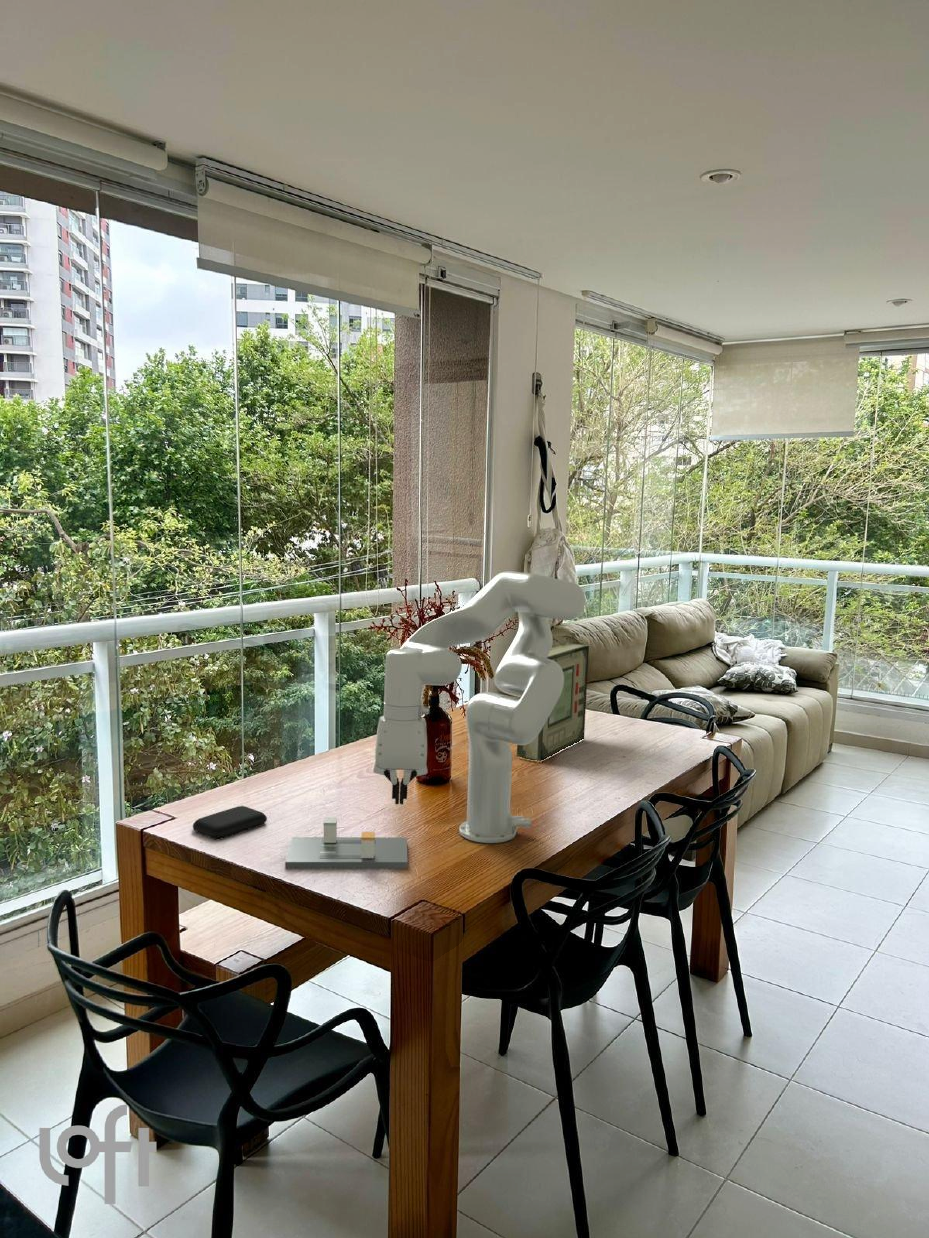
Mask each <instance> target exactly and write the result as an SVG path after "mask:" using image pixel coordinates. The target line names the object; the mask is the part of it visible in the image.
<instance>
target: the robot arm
mask: <svg viewBox="0 0 929 1238" xmlns="http://www.w3.org/2000/svg"><path fill="white" fill-rule="evenodd" d="M585 605H586V597H585V593H584V590H583V589H582V588H581V586H580V585H579V584H577V583H575V582H573V581H568V580H563V579H559V578H554V577H551V576H545V575H541V574H537V573H532V572H531V573H530V572H529V573H528V572H522V571H521V572H520V571H511V570H509V571H502V572H499V573H497V574H496V575H495V576H493V578H492V579H491V580H490V581H488V582H487V583H486V584H485V585H484V586H483V587H482V588H481V589H480V590H479V591H478V592H477V593H476V594H475V595H474V596H473V597H472V598H471V599H470V600H468V601H467V602H466V603H465V604H464V605H463V606H462V607H460V608H458V609H456V610H453V611H450V612H448V613H446V614H443V615H441V616H440V617H438V618H436V619H433V620H431V621H428V622H427V623H426V624H424V625H422V626H420V628H419V629H417V630H416V631H415V632H414V633H413V634H412V635H411V636H410V637H409V638H408V639H407V640H406V641H404V643H403V644H402V646H401V647H400V648H395V649H391V650H389V651H388V652H387V653H386V655H385V666H384V669H385V670H384V687H383V688H384V691H383V693H384V695H383V715H381V716H380V717H379V719H378V724H377V728H376V729H377V731H376V737H375V739H376V740H375V750H374V751H375V754H374V759H375V763H374V767H373V769H372V770H373V773H374V774H377V775H381V776H384V777H385V778H386V779H387V780H388V781H389V782H390V783H391V785H392V786H391V787H392V788H391V799H392V800H395V801H394V804H395V805H399V804H400V805H404V800H407V799H408V785H409V784H410V782H412V780H413V779H415V778H416V777H419V776H424V775H427V774H428V765H427V759H428V758H427V757H428V734H427V722H426V718H425V717H423V716H424V715H426V714H428V715H429V714H430V706H427V705H426V706H424V704H423V696H424V695H423V694H424V693H423V692H424V691H423V690H424V686H425V685H426V686H446V685H450V684H452V683H453V682H455V681H456V680H457V679H458V678H459V677H460V674H461V672H462V661H461V659H460V656H459V655H458V654H457V652H455V651H454V650H452V649H449V648H451V647H454V646H458V645H464V644H465V645H466V644H472V643H476V642H477V643H478V642H480V641H483V640H487V639H488V638H491V637H492V636H493V634H494V633H496V632H497V630H498V629H499V628H500V627H501V626H502V625H504V623H505V622H506V621H507V620H509V618H511V616H512V615H513V614H515V613H517V615H518V628H517V629H518V630H517V632H516V634H515V636H514V639H513V640H512V642H511V644H510V646H509V647H508V649H507V650H506V652H505V654H504V655H503V657H502V659H501V661H500V663H499V665H498V666H497V668H496V670H495V673H494V679H493V680H494V681H493V682H494V685H495V687H497V689H498V690H499V691H501V692H502V693H504V694H501V693H496V692H492V691H483V692H479V693H477V694H475V695H473V696H472V697H471V698H470V699H469V701H468V703H467V704H466V708H465V724H466V730H467V736H468V770H467V771H468V774H467V796H466V797H467V802H466V805H467V806H466V821H463V822H462V823H461V824H460V825H459V834H460V835H461V836H462V837H463V838H465V839H467V840H469V841H472V842H477V843H482V844H483V843H484V844H499V843H505V842H508V841H510V840H512V839H514V838H515V837H516V836H517V828H521V827H522V828H531V826H532V822H531V821H532V820H531V818H525V817H524V815H513V814H512V812H511V798H512V797H511V795H512V794H511V793H512V792H511V791H512V771H513V770H512V769H513V768H512V767H513V753H512V748H511V746H510V745H511V744H513V745H516V746H517V745H527V744H529V743H531V742H532V741H534V740H535V738H536V737H537V736H538V735H539V733H540V731H541V730H542V728H543V726H544V724H545V723H546V721H547V719H548V717H549V715H550V714H551V712H552V710H553V708H554V706H555V705H556V703H557V701H558V699H559V697H560V695H561V692H562V689H563V684H564V674H563V671H562V668H561V667H560V665H559V664H558V663H556V662H555V661H553V660H550V659H546V658H547V656H548V654H549V652H550V650H551V648H552V647H553V642H554V639H553V633H552V630H551V625H550V623H549V619H556V620H561V621H571V620H572V621H573V620H575V619H577V618H578V617H579V616H581V614H582V612H583V611H584V608H585ZM548 618H549V619H548ZM506 694H507V695H506ZM509 695H510V696H509ZM513 696H514V697H513ZM517 697H518V698H517ZM519 697H521V699H519ZM398 770H400V771H401V770H402V771H403V777H402V778H401V781H400V780H399V777H398V774H397V773H398V772H397V771H398Z"/></svg>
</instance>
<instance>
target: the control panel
mask: <svg viewBox="0 0 929 1238" xmlns="http://www.w3.org/2000/svg"><path fill="white" fill-rule="evenodd" d="M589 648H590V645H589V644H580V643H572V642H565V643H561V644H560V643H559V644H557V645H554V646H553V645H552V648H551V650H550V652H549V654H548V656H547V658H546V659H550V660H553V661H555V662H556V663H558V664H559V665H560V667H561V668H562V671H563V674H564V684H563V689H562V692H561V695H560V697H559V699H558V701H557V703H556V705H555V706H554V708H553V710H552V712H551V714H550V715H549V717H548V719H547V721H546V723H545V724H544V726H543V728H542V730H541V731H540V733H539V735H538V736H537V737H536V738H535V740H534V741H532V742H531V743H529V744H527V745H517V744H516V758H517V757H522V758H525V759H530V760H537V761H541V760H544V759H546V758H547V757H549V756H552V755H553V754H555V753H557V752H559V751H560V750H562V749H565V748H566V747H568V746H571V745H573V744H574V743H577V742H579V741H580V740H582V739H584V740H585V729H586V728H585V727H586V725H585V724H586V709H587V690H588V689H587V688H588V687H587V686H588V672H589V671H588V670H589V669H588V668H589ZM518 699H521V697H518Z"/></svg>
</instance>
